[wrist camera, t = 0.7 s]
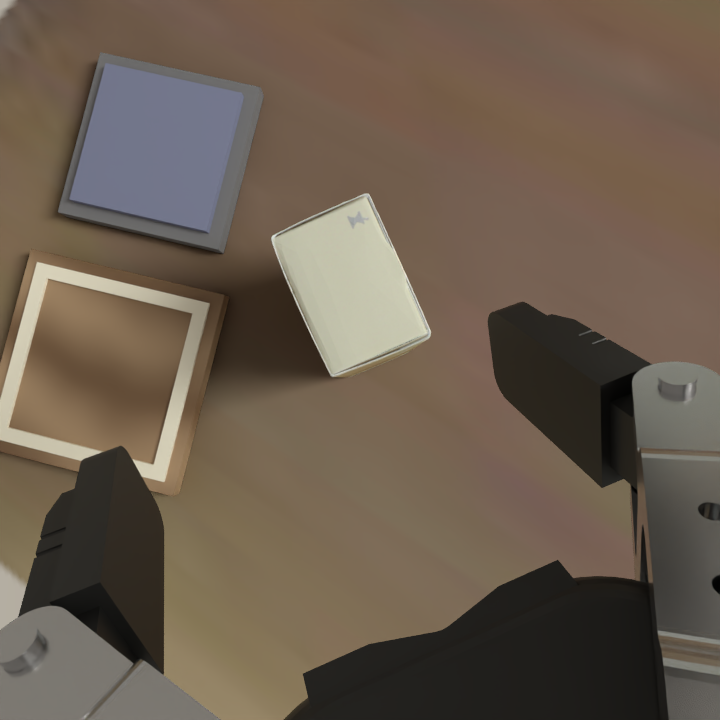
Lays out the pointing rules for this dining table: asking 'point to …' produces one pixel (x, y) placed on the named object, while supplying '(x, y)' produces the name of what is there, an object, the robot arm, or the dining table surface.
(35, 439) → the marked board
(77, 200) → the ink pad
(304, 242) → the skincare box
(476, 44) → the dining table surface
